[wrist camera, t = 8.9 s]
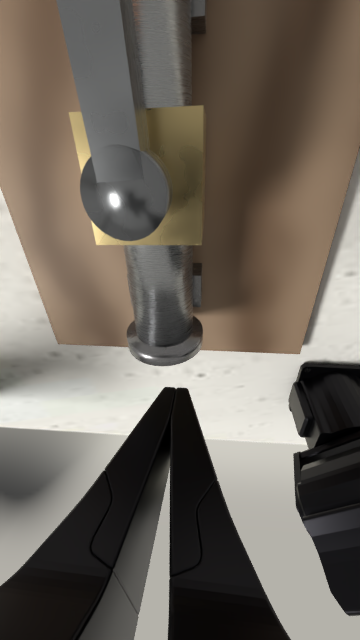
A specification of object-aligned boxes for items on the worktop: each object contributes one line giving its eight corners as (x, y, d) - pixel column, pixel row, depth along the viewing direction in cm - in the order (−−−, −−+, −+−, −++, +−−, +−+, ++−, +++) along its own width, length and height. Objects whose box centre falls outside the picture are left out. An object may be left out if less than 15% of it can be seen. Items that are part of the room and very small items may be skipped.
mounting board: (490, -361, 8) (522, -416, 7) (296, 346, 24) (299, 354, 23) (-136, -231, 10) (-165, -263, 10) (62, 337, 26) (58, 343, 25)
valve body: (214, -144, 10) (215, -499, 4) (203, 317, 22) (200, 378, 16) (79, -124, 11) (-71, -418, 5) (139, 315, 22) (114, 373, 17)
